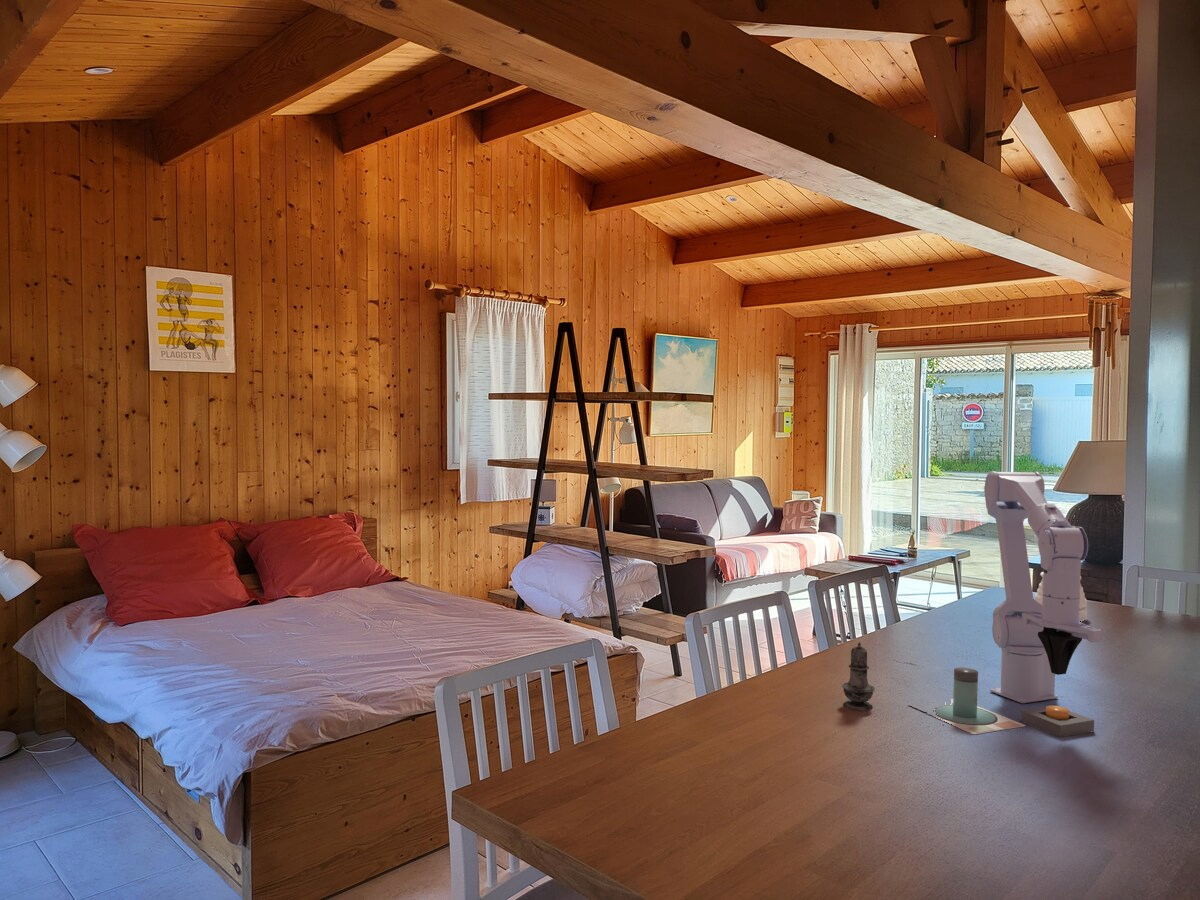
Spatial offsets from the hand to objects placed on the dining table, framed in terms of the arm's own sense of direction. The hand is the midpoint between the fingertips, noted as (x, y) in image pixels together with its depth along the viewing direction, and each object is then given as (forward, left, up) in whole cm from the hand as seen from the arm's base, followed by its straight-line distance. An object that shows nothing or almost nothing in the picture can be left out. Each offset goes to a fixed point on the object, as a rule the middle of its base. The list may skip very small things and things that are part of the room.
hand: (1058, 673), depth 152 cm
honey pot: (-75, -63, -10) cm, 98 cm away
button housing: (0, 0, -9) cm, 9 cm away
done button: (0, 0, -8) cm, 8 cm away
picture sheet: (+11, -10, -9) cm, 18 cm away
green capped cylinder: (+11, -10, -9) cm, 18 cm away
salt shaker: (+26, -21, -10) cm, 35 cm away
